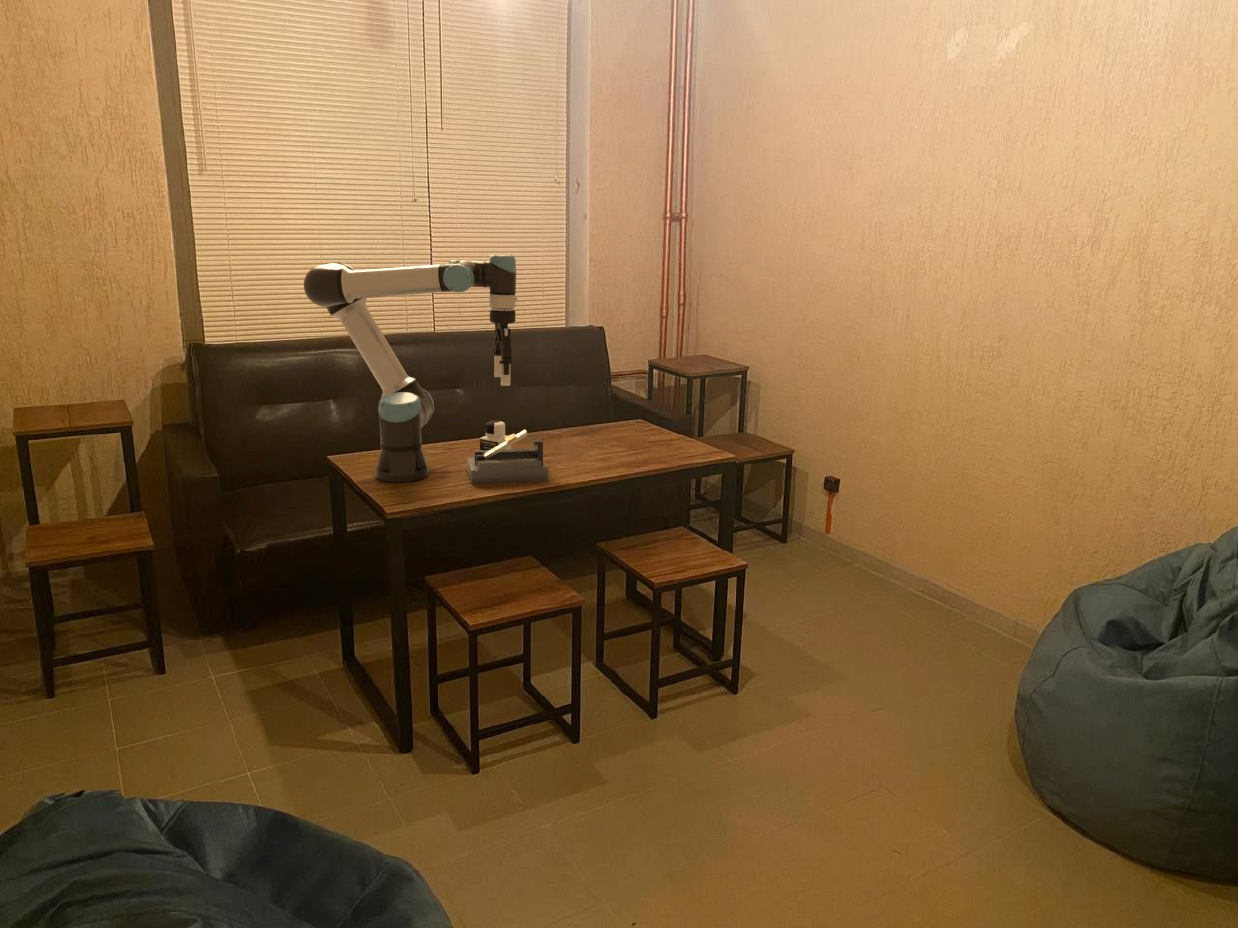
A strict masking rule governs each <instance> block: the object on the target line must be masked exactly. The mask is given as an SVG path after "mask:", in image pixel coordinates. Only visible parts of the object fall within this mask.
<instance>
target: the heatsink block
mask: <svg viewBox="0 0 1238 928" xmlns="http://www.w3.org/2000/svg"><path fill="white" fill-rule="evenodd" d="M531 442H532V444H533V445H534V448H531V447H530V448H515V449H514V448H511V449H506V450H502V451H500V452H498V453H497V454H495V455H493V456H492V457H490V458H488V459H487V460H485V455H483V454H485V453H486V452H488V451H490V450H480V449H479V450H473V456H470V457H469V456H468V457H466V471H467V473H468V476H469V479H470V483H471V485H478V484H498V483H499V484H500V483H517V482H518V483H521V482H522V483H523V482H538V481H539V482H541V481H549V467H548V465H547V463H546V462H545V461H544V441H543V439H541V437H531Z"/></svg>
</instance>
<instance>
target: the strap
mask: <svg viewBox="0 0 1238 928" xmlns="http://www.w3.org/2000/svg"><path fill="white" fill-rule="evenodd" d="M507 436H508V437H507V438H505V440H506V441H505V442H503V443H501V444H500V445H498V446H496V447H495V448H493V449H491V450H490V451H488V452H486V453H485V454H483V455H485V460H487V459H488V458H490V457H492V456H493V455H495V454H497V453H498V452H500V451H502V450H503V449H505V448H507V447H508V446H510V445H511V446H512V445H513V444H515V443H517V442H519V441H521V439H523V438H525V437H527V436H529V433H528V432H527V430H526V429H523V430H521V431H520V432H517V433H516V434H515V433H511V434H510V435H507Z"/></svg>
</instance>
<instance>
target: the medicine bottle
mask: <svg viewBox="0 0 1238 928" xmlns="http://www.w3.org/2000/svg"><path fill="white" fill-rule="evenodd" d="M508 436H509V435H506V424H505V422H503V421H501V420H490V421H487V422H486V423H485V435H484V436H482V437H480V438H479V451H480V450H491V449H493V448H495V447H496V446H498V445H500V444H501V443H503V442H505V441H506V440H505V438H507V437H508ZM506 449H512V445H510V446H508V447H507V448H505V449H503V450H506Z"/></svg>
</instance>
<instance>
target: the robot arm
mask: <svg viewBox="0 0 1238 928" xmlns="http://www.w3.org/2000/svg"><path fill="white" fill-rule="evenodd" d="M516 264H517V263H516V257H515V256H514V255H510V254H491V255H490V256H489V259H488V260H483V261H481V260H470V259H469V260H468V259H466V260H464V259H450V260H449V261H448V263H445V264H444V263H443V264H432V265H431V264H430V265H418V266H403V267H391V268H390V267H389V268H388V267H387V268H376V269H363V270H355V268H353V267H352V266H350V265H349V264H347V263H344V262H343V263H342V262H329V263H326V264H321V265H317V266H314V267H313V268H311V269H310V270H308V272H307V273H306V274H305V277H304V281H303V290H304V293H305V295H306V297H307V298H308V299H309V301H310V302H312V303H313V304H314V305H316V306H319V307H323V308H326V310H327V311H328V313H329V315H330V316H331V317H332V318H335V319H338V320H339V321H340V323H341V324H342V325H343V328H344V329H345V331H346V332H347V334H348V335H349V338H350V339H351V341H352V342H353V344H354V345H355V348H356V349H357V350H358V352H359V354H360V355H361V357H362V358H363V361H364V362H365V364H366V366H367V367H368V368H369V370H370V372H371V373H372V375H373V376H374V378H375V380H376V381H377V383H378V385H379V386H380V388H381V390H382V394H381V398H380V399H379V402H378V410H377V412H378V418H379V419H378V420H379V421H378V422H379V439H380V451H379V455H378V457H377V462H376V465H375V470H374V471H375V472H374V473H375V477H376V478H377V479H378V480H380V481H382V482H383V481H384V482H388V483H389V482H390V483H407V482H415V481H419V480H422V479H425V478H427V477H428V476H429V473H430V472H429V464H428V462H427V459H426V457H425V454H424V451H423V447H422V444H423V443H422V441H423V440H422V428H423V427H424V426H425V425H427V424H428V423H429V421H430V420H431V418H432V417H433V413H434V410H435V405H434V399H433V398H432V396H431V394H430V393H429V392H428V391H427V390H425V389H424V388H422V387H421V385H420V384H419V382H418V380H417V379H416V377H415V378H414V377H412V376H409V375H408V374H407V372H406V371H405V369H404V367H403V366H402V364H401V362H400V360H399V359H398V357H397V355H396V354H395V352H394V350H393V348H392V347H391V345H390V344H389V342H388V340H387V339H386V337H385V336H384V334H383V332H382V330H381V329H380V327H379V326H378V324H377V322H376V320H375V318H374V317H373V315H372V314H371V312H370V310H369V308H368V307H367V299H370V298H371V299H373V298H383V297H384V298H385V297H395V296H396V297H397V296H410V295H412V296H413V295H421V294H435V293H449V292H450V293H451V292H453V293H454V292H455V293H463V292H466V291H468V290H469V289H471V288H484V289H486V288H487V289H488V288H489V307H490V310H489V322H490V323H492V324H494V335H493V336H494V338H493V349H492V351H493V354H494V361H493V362H494V364H493V365H494V369H493V370H494V371H493V375H494V378H500V386H501V387H503V386H504V387H505V386H507V387H508V386H511V367H512V366H511V363H512V362H513V358H512V342H511V341H512V340H511V331H512V330H511V328H509V325H510V324H515V322H516V317H517V316H516V310H515V309H516V302H517V301H518V297H516V289H517V267H516V266H517V265H516Z"/></svg>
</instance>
